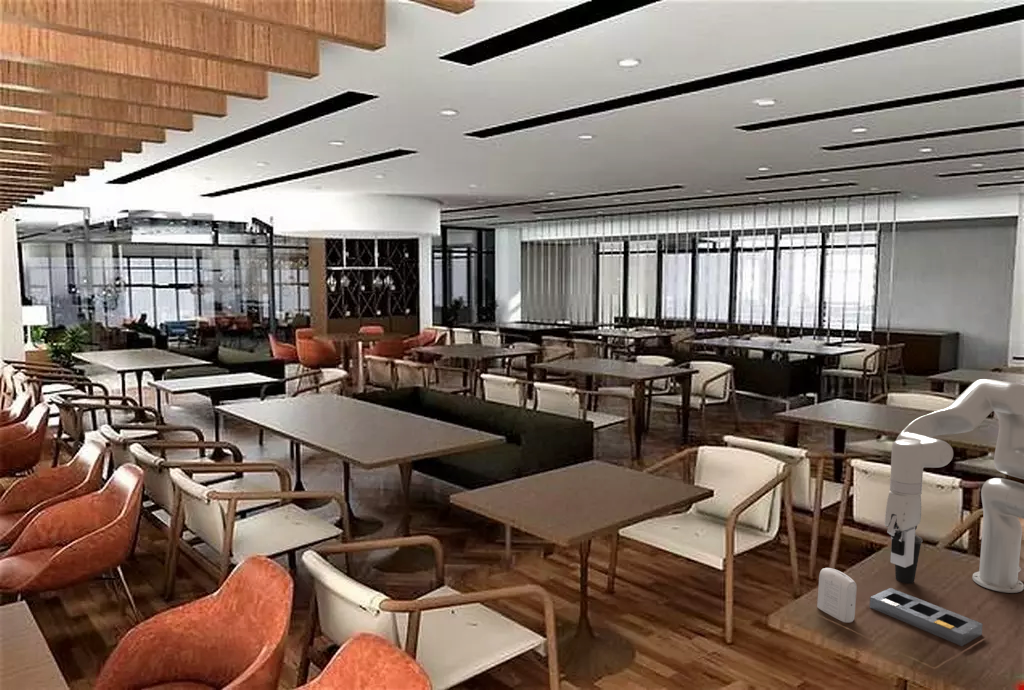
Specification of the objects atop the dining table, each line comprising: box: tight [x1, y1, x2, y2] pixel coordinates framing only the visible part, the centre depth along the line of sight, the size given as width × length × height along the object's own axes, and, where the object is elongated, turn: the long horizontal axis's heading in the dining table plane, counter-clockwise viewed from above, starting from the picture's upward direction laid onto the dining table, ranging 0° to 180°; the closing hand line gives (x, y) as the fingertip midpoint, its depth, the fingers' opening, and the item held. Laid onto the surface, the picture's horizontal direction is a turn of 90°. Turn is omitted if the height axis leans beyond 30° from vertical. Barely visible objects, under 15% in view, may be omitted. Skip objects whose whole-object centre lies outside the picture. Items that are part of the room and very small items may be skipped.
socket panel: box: [869, 587, 983, 647], centre depth 193 cm, size 10×24×4 cm, turn 33°
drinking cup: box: [894, 534, 923, 585], centre depth 216 cm, size 8×8×20 cm
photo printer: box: [816, 567, 858, 623], centre depth 196 cm, size 10×4×12 cm, turn 25°
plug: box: [890, 526, 916, 568], centre depth 197 cm, size 4×4×11 cm
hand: (902, 551), depth 197 cm, fingers closed on plug, 4 cm apart
